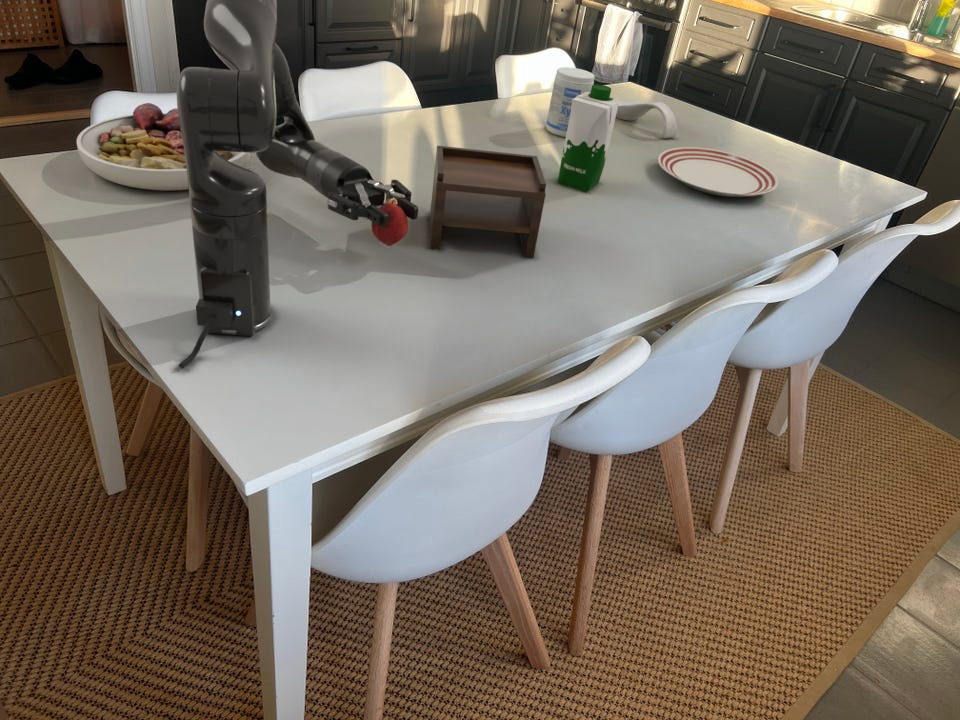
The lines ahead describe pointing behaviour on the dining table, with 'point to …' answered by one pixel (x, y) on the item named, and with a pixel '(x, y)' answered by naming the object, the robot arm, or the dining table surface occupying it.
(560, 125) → the supplement tub
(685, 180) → the dinner plate
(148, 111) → the bowl
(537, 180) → the shelf stand
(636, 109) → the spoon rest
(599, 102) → the milk carton
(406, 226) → the onion
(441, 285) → the dining table surface
